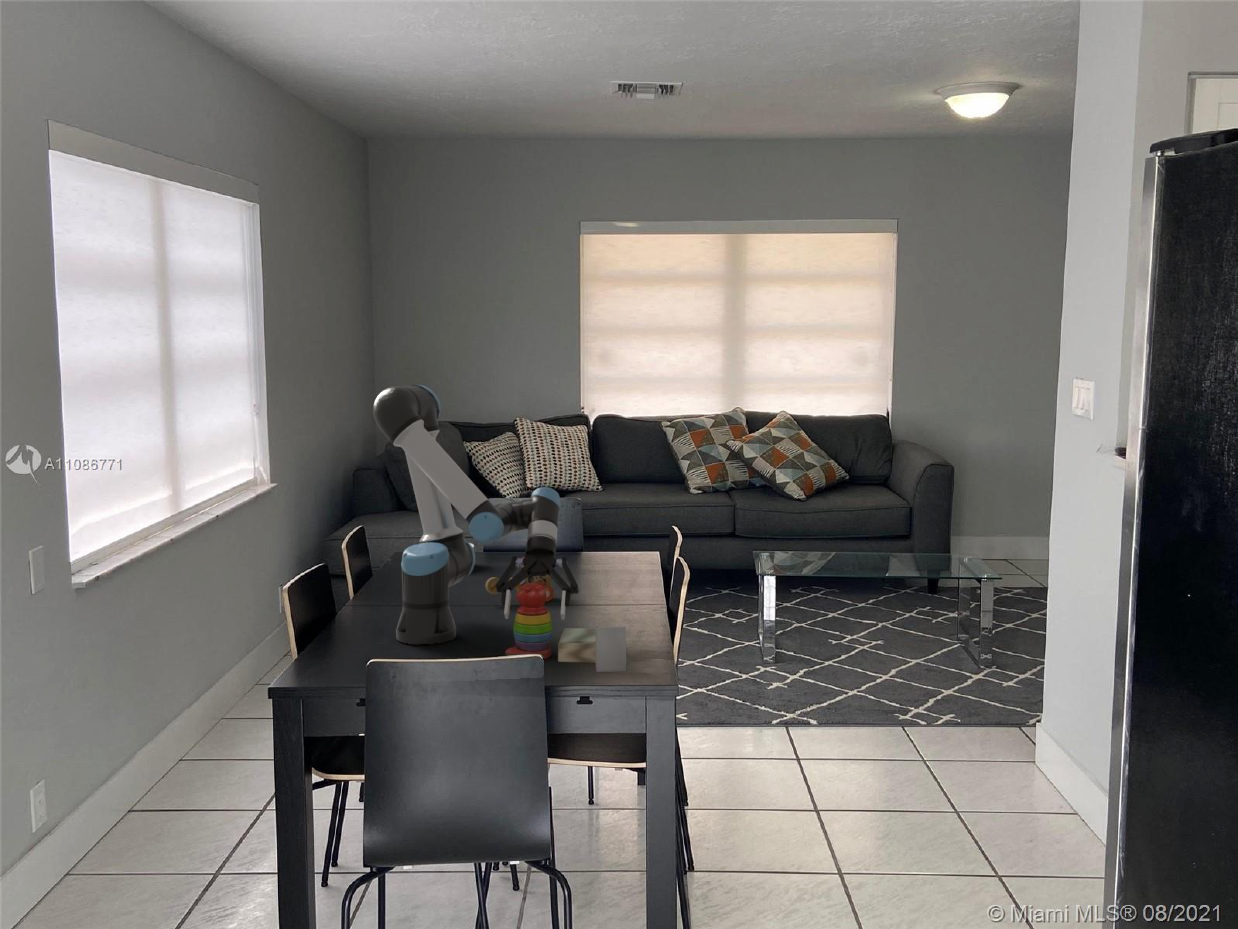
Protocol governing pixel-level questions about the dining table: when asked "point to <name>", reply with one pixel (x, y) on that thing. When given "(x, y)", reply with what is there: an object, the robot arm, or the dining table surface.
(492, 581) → the toy helicopter
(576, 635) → the base block
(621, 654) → the white printed cardboard box
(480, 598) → the dining table surface
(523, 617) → the stacking bear
